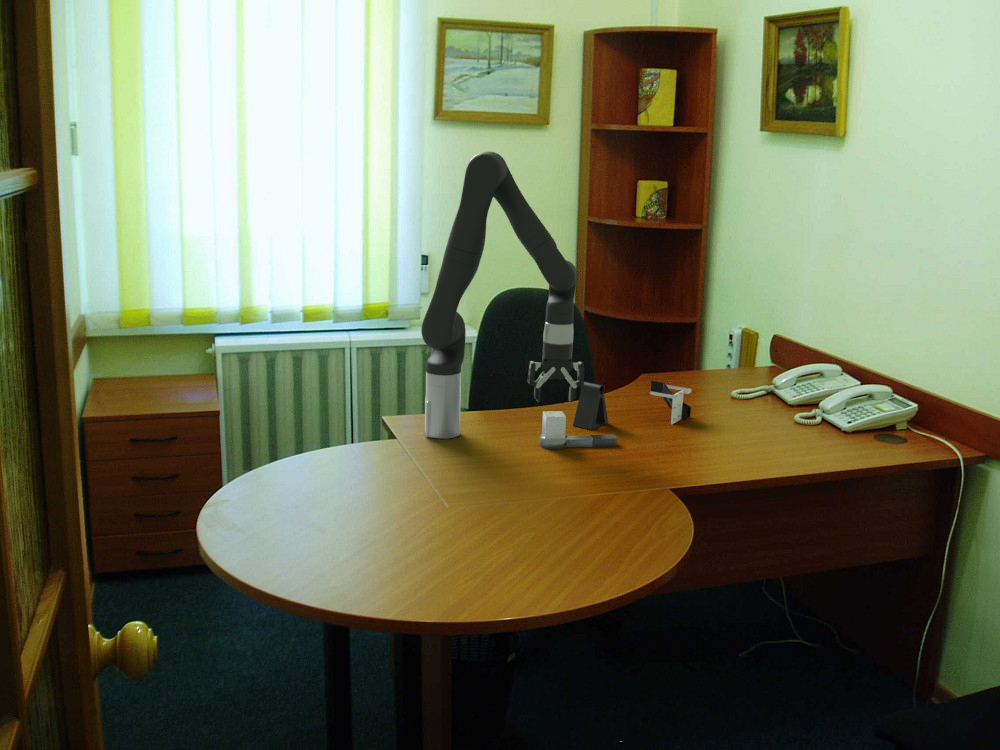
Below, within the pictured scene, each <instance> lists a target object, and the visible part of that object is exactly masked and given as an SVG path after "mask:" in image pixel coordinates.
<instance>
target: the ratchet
mask: <svg viewBox="0 0 1000 750" xmlns="http://www.w3.org/2000/svg"><path fill="white" fill-rule="evenodd" d="M539 447H541V448H542V449H546V450H556V451H557V450H563V449H566V448H582V447H583V448H584V447H585V448H591V447H592V448H593V447H595V448H596V447H597V448H599V447H600V448H601V447H603V448H605V447H606V448H607V447H610V448H611V447H612V448H613V447H618V438H617V436H616V435H615V434H589V435H566V434H565V439H545V438H544V436H543V434H542V433H541V434H540V435H539Z"/></svg>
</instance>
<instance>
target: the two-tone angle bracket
mask: <svg viewBox="0 0 1000 750" xmlns="http://www.w3.org/2000/svg"><path fill="white" fill-rule="evenodd" d="M650 381H651V383H650V391H649V395H652V396H657V397H662V398H663V400H664V401H665V402H666V404H667V406H668V408H669V409H671V418H670V425H674V424H675V423H678V421H679V422H680V421H681V420H684V421H685V420H689V419H691V418H692V417H691V409H692V406H690V405H689V404H687V403H686V402H684V394H685V395H689V394H690V393H692V388H689V387H682V386H676V385H669V384H666V383H665V382H663V381H657V380H652V379H650ZM670 389H671V390H677V391H678V392H676V393H673V391H671V390H670Z"/></svg>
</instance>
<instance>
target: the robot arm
mask: <svg viewBox="0 0 1000 750" xmlns="http://www.w3.org/2000/svg"><path fill="white" fill-rule="evenodd" d="M465 168H466V169H465V173H464V179H463V185H462V192H461V197H460V201H459V206H458V209H457V212H456V215H455V218H454V220H453V223H452V226H451V229H450V233H449V237H448V239H447V242H446V246H445V250H444V253H443V258H442V262H441V266H440V269H439V272H438V277H437V280H436V284H435V288H434V292H433V295H432V297H431V301H430V302H429V305H428V308H427V310H426V313H425V315H424V318H423V320H422V323H421V336H422V340H423V342H424V343H425V345H426V346H428V347H429V348H431V349H432V350H431V354H430V356H429V357H428V358H427V360H426V361H425V363H426V364H425V396H424V397H425V398H424V433H425V438H432V439H433V438H434V439H443V440H444V439H452V438H457V437H459V436H460V434H461V400H462V399H461V398H462V397H461V394H462V393H461V389H462V388H461V387H462V386H461V385H462V365H463V362H464V359H465V350H466V348H465V347H466V334H467V333H466V323H465V320H464V318H463V316H462V314H460V313H459V312H458V308H459V304H460V302H461V300H462V298H463V295H464V294H465V292H466V291H467V289H468V287H469V286H470V285H471V282H472V281H473V279H474V277H475V275H476V274H477V272H478V269H479V267H480V264H481V259H482V256H483V254H484V253H483V252H484V250H485V249H484V248H485V244H486V235H487V220H488V219H487V218H488V215H489V210H490V207H491V204H492V202H493V199H495V200H496V202H497V203H498V204H499V206H500V208H501V209H502V210H503V212H504V214H505V216H506V217H507V219H508V221H509V223H510V226H511V227H512V228H511V229H513V231H514V234H515V235H516V237H517V239H518V240H519V241H520V244H521V245H522V246H523V247H524V248H525V250H526V251H527V253H528V254H529V256H530V257H531V258H532V259H533V260H534V262H535V263H536V265H537V268H538V269H539V271H540V273H541V275H542V276H543V278H544V279H545V281H546V283H547V284H548V300H547V303H546V306H545V321H544V328H543V335H542V338H543V340H542V357H541V358H542V360H541V361H540V362H538V361H534V360H530V361H529V365H528V373H527V374H528V375H527V383H528V385H529V386H531V387H534V389H533V390H534V391H533V398H534V400H536V402H537V403H540V402H541V394H542V386H543V384H545V383H546V382H547V380H548V379H550V380H556V379H557V380H563V379H566V380H567V381H566V382H568V383H569V385H570V386H569V388H568V402H569V403H573V402H574V401H575V400H576V395H577V389H578V388H579V387H581V386H583V385H584V382H585V364H584V363H583V362H582V361H577V362H573V348H574V346H573V345H574V344H573V343H574V333H575V332H574V331H575V330H574V313H575V306H574V301H575V293H576V286H577V277H578V276H577V275H578V273H577V268H576V266H575V265H574V263H572V262H571V261H570V260H566V258H565V257H564V255H563V254H562V253H561V251H560V250H559V249H558V245H557V243H556V241H555V239H554V238H553V236H552V234H551V233H550V232H549V230H547V227H546V226H545V225H544V223H543V222H542V221H541V219H540V218H539V217H538V216H537V214H536V213H535V212H534V210H533V208H532V207H531V206H530V204H529V203H528V201H527V199H526V198H525V196H524V195H523V193H522V191H521V190H520V188H519V187H518V185H517V183H516V181H515V178H514V177H513V174H512V173H511V170H510V169H509V166H508V164H507V162H506V160H505V159H504V157H503V156H502V155H500V154H499V153H498V152H495V151H485V152H480V153H477V154H475V155H473V157H471V159H469V161H468V163H467V165H466V167H465ZM539 368H541V370H542V372H541V373H540V374H539V376H538V378H537V379H536V380H535V376H536V372H537V371H538V370H539ZM572 369H574V370H575V371H576V373H577V374H576V375H577V378H576V379H577V380H574V379H573V378H572V376H571V374H570V372H571V371H572Z"/></svg>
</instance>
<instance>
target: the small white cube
mask: <svg viewBox="0 0 1000 750" xmlns="http://www.w3.org/2000/svg"><path fill="white" fill-rule="evenodd" d="M566 426H567V416H566V414H565V413H564V412H563V411H561V410H557V411H556V410H555V411H554V410H553V411H552V410H550V411H548V410H547V411H542V425H541V429H542V431H541V434H543V436H544V438H545V439H565V435H566Z"/></svg>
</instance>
